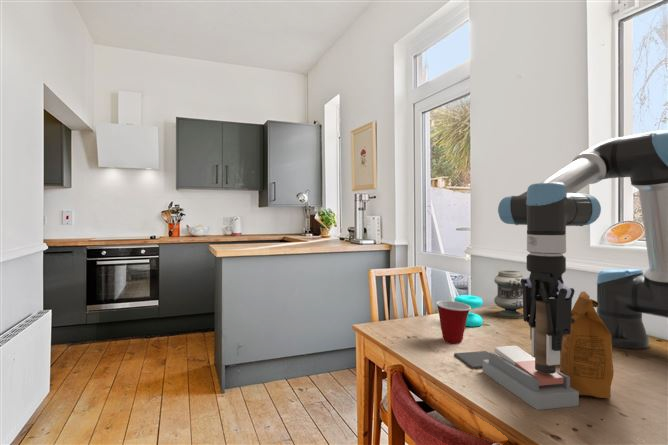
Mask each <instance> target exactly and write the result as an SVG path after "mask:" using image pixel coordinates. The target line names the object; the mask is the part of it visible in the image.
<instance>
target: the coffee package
mask: <svg viewBox="0 0 668 445" xmlns="http://www.w3.org/2000/svg"><path fill="white" fill-rule="evenodd" d="M598 306H599V304H598V302H597V300H594V299H592V298H591V297H590V295H589V294H588V293H587V292H586V291H580V293H579V295H578V298H577V299H576V301H575V303H574V304H573V306H572V309H571V333H570V334H568V335H563V338H562V349H561V354H560V365H559V372H561V373H563V374H565V375H567V376H569V377H570V387H571V388H573V389H575V390H577V391H579V396H590V397H594V398H598V399H599V398H600V399H605V398H606V399H610V398H611V397H612V396H611V395H612V394H611V392H612V391H611V388H612V387H611V386H612V382H613V380H614V379H613V378H614V371H615V370H614V365H613V364H614V362H613V346H612V340H611V334H610V332H609V330H608V329H607V327H606V325H605V324H604V323H603V321H602V320H601V319H600V317H599V316H598V314H597V310H596V309H595V308H597V307H598Z"/></svg>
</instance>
